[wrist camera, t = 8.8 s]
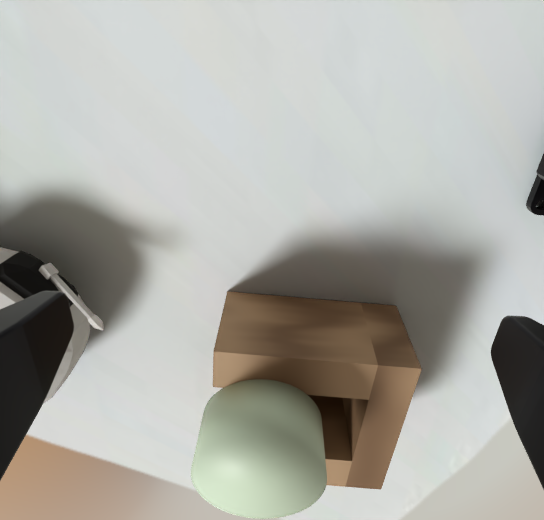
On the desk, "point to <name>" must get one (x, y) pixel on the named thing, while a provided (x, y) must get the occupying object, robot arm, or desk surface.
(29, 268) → the robot toy
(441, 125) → the desk surface
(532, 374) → the robot arm
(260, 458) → the peg
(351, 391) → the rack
